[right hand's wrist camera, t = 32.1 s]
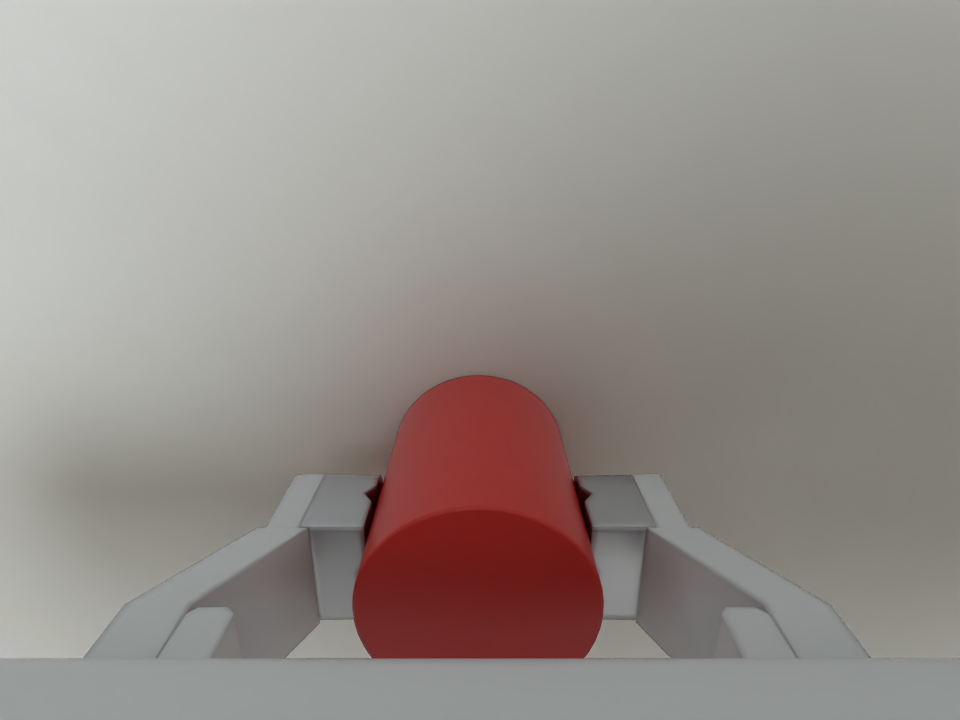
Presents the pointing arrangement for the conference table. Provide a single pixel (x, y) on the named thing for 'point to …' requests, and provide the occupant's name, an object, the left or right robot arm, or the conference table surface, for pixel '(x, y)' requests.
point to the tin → (478, 534)
